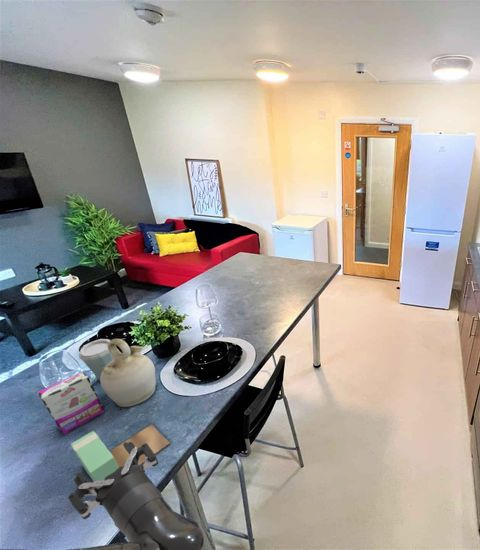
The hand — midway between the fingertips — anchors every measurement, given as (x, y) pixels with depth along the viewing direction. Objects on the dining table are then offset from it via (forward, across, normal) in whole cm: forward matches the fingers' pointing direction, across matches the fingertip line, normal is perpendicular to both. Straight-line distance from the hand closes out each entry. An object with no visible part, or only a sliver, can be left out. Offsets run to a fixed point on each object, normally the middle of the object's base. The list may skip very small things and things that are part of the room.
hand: (103, 459), depth 67 cm
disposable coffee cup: (+60, -16, +20) cm, 65 cm away
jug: (+41, -18, +20) cm, 49 cm away
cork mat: (+16, -9, +20) cm, 27 cm away
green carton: (+16, 0, +20) cm, 26 cm away
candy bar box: (+43, -3, +20) cm, 48 cm away
